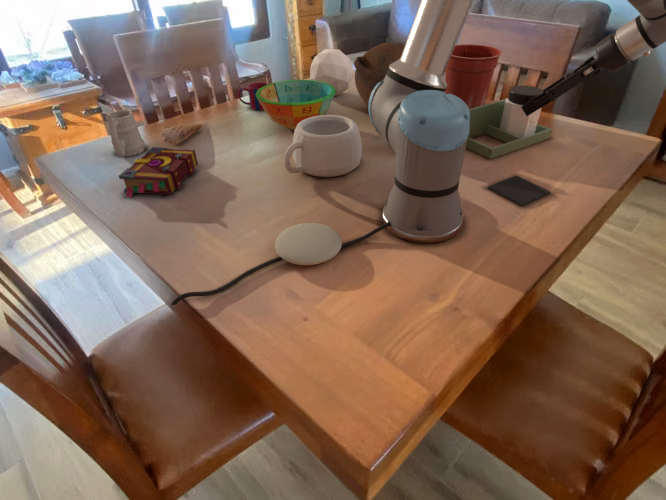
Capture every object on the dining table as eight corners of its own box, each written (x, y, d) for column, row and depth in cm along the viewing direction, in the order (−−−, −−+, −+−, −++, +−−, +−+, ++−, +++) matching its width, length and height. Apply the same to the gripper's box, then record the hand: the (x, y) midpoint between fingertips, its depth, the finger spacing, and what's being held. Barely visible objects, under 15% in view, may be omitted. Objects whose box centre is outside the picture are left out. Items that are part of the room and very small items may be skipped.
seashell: (159, 149, 113) (154, 131, 110) (199, 125, 127) (195, 108, 124) (173, 152, 112) (168, 133, 109) (212, 126, 126) (208, 109, 123)
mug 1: (149, 143, 117) (135, 99, 109) (137, 163, 107) (122, 116, 100) (120, 145, 116) (105, 101, 109) (106, 165, 107) (88, 118, 100)
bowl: (351, 128, 122) (351, 92, 116) (283, 148, 112) (279, 110, 106) (310, 107, 137) (308, 74, 131) (247, 123, 127) (242, 88, 121)
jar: (517, 144, 111) (529, 97, 103) (492, 134, 116) (502, 89, 109) (539, 136, 114) (552, 90, 107) (513, 127, 120) (524, 83, 113)
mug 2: (328, 144, 114) (327, 107, 107) (376, 163, 104) (377, 123, 98) (264, 171, 102) (258, 131, 96) (311, 196, 92) (308, 153, 86)
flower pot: (481, 118, 126) (493, 60, 116) (429, 109, 133) (435, 54, 123) (496, 101, 137) (508, 47, 127) (447, 94, 144) (454, 42, 134)
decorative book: (199, 166, 105) (195, 147, 102) (169, 199, 93) (163, 179, 90) (157, 163, 107) (151, 145, 104) (121, 196, 94) (114, 176, 91)
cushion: (278, 231, 82) (277, 218, 80) (341, 229, 82) (340, 216, 80) (272, 271, 73) (270, 258, 71) (343, 270, 72) (343, 256, 71)
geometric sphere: (323, 111, 148) (295, 78, 139) (334, 83, 155) (308, 50, 146) (356, 96, 139) (328, 59, 130) (366, 67, 146) (339, 30, 137)
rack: (490, 159, 104) (496, 127, 100) (453, 141, 113) (458, 111, 108) (549, 138, 113) (558, 108, 108) (511, 123, 122) (518, 95, 117)
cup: (270, 110, 135) (267, 88, 131) (239, 111, 135) (235, 89, 131) (272, 103, 141) (270, 81, 137) (242, 104, 141) (238, 82, 137)
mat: (521, 206, 87) (522, 204, 87) (487, 188, 93) (488, 186, 93) (550, 194, 91) (550, 191, 90) (515, 177, 97) (516, 175, 97)
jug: (356, 101, 140) (374, 154, 120) (345, 41, 126) (364, 90, 105) (417, 85, 139) (446, 135, 119) (413, 23, 124) (445, 68, 104)
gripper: (619, 75, 84) (524, 131, 101) (643, 50, 100) (557, 102, 116) (599, 43, 84) (507, 104, 101) (626, 22, 99) (542, 79, 116)
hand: (533, 103), depth 109 cm, fingers open, 13 cm apart
